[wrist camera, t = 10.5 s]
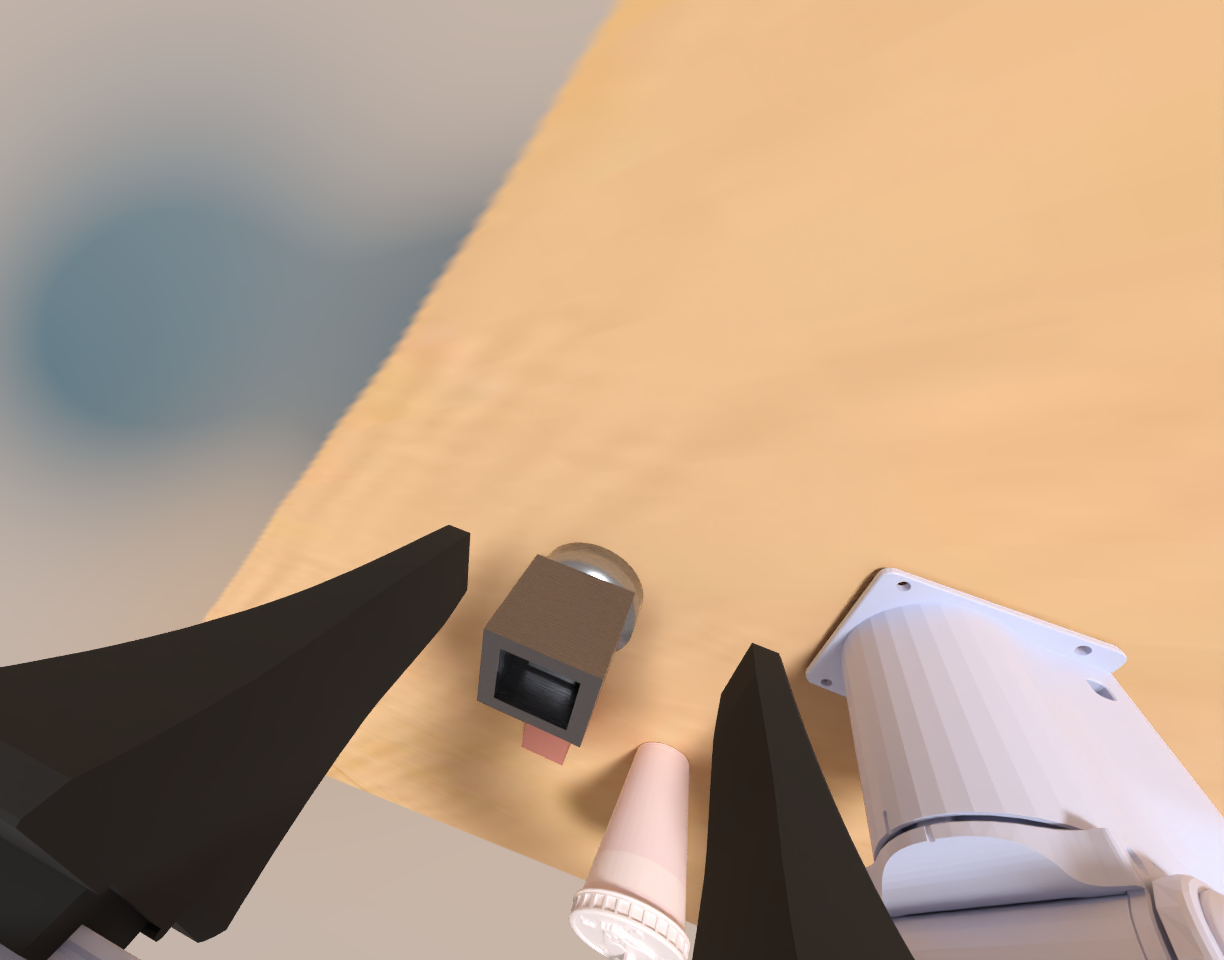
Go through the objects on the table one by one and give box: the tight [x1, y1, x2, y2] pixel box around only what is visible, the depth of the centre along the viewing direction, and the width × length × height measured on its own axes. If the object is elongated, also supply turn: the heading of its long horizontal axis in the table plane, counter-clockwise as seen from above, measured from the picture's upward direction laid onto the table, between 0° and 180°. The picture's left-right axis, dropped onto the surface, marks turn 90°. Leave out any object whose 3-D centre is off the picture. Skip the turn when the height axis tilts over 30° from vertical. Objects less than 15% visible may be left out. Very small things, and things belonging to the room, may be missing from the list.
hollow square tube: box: [477, 554, 635, 747], centre depth 21 cm, size 5×5×5 cm
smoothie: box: [569, 742, 690, 960], centre depth 25 cm, size 6×6×14 cm
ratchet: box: [522, 543, 643, 765], centre depth 26 cm, size 18×6×5 cm, turn 167°
